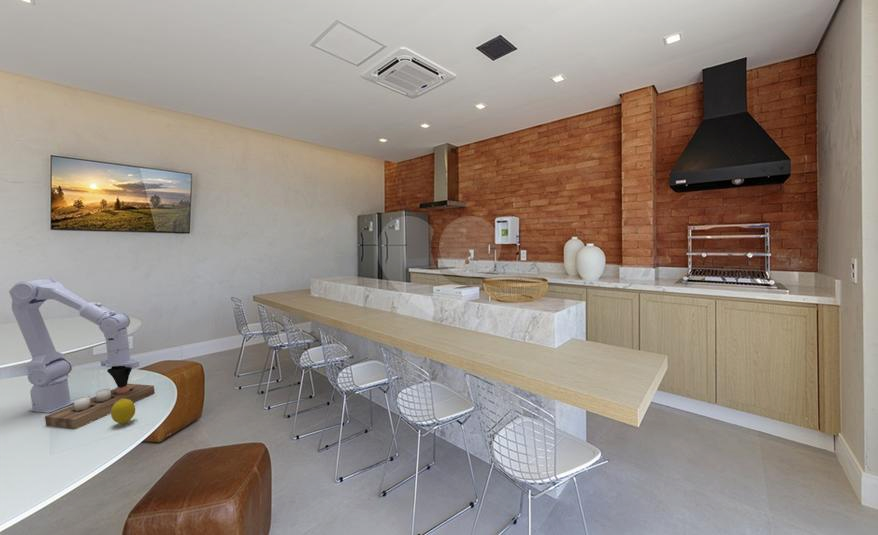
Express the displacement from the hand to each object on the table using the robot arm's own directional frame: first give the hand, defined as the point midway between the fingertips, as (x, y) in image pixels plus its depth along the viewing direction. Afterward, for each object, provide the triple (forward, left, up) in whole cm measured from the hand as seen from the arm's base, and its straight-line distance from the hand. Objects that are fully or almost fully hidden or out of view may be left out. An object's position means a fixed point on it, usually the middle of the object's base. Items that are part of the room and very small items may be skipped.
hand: (122, 386), depth 124 cm
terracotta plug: (0, 0, -3) cm, 3 cm away
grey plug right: (0, -12, -2) cm, 12 cm away
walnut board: (0, -6, -5) cm, 8 cm away
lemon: (+18, -13, -5) cm, 23 cm away
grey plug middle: (0, -6, -2) cm, 6 cm away
